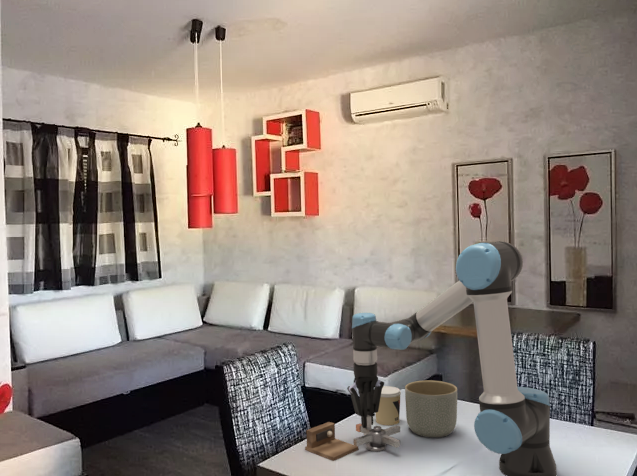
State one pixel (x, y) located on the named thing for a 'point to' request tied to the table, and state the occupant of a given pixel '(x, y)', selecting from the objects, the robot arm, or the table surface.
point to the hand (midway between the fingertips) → (367, 435)
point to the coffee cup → (389, 406)
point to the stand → (327, 442)
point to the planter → (431, 408)
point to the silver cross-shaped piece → (377, 437)
